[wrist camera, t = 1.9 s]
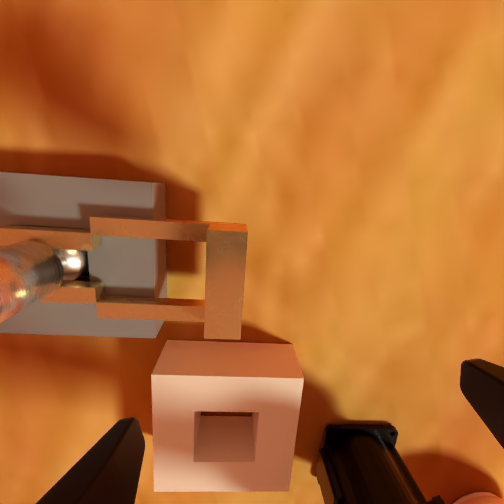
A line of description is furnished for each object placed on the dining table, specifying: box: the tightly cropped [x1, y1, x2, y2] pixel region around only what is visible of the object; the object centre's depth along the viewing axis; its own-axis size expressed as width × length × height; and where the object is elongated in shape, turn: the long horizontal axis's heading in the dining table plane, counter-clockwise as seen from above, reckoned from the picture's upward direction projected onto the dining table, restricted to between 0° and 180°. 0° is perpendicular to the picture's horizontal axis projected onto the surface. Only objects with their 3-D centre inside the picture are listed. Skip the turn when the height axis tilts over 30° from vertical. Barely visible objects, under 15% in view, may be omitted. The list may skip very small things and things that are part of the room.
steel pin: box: [0, 228, 89, 323], centre depth 14 cm, size 3×3×10 cm
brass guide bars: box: [0, 215, 248, 340], centre depth 15 cm, size 14×6×3 cm, turn 86°
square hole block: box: [151, 340, 304, 492], centre depth 21 cm, size 10×10×4 cm
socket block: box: [0, 171, 167, 338], centre depth 18 cm, size 12×10×3 cm
